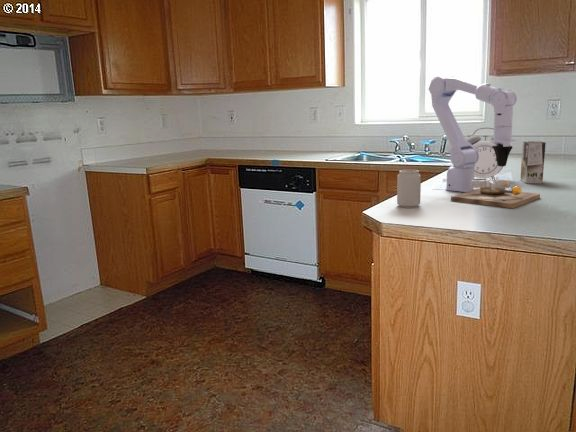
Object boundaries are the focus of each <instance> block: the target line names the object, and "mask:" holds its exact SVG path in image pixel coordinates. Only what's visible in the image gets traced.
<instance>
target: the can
mask: <svg viewBox="0 0 576 432" xmlns="http://www.w3.org/2000/svg"><path fill="white" fill-rule="evenodd" d="M419 172H420V170H417V169H400V170H399V173H398V174H397V176H396V177H397V179H396V180H397V181H396V182H397V183H396V185H397V189H396V194H397V195H396V205H398V206H399V207H400V208H403V209H413V208H418V207H419V206H420V205H421V191H422V190H421V186H422V185H421V180H422V179H421V177H422V174H420V173H419Z"/></svg>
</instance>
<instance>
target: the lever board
mask: <svg viewBox="0 0 576 432" xmlns="http://www.w3.org/2000/svg"><path fill="white" fill-rule="evenodd" d="M540 198H541V193H537V192H527V191H521V193H520V194H519V195H514V194H513V193H512V194H511V193H504V194H484V193H481V192H480V188H478V189H475V190H472V191H468V192H461V193H458V194H454V195H452V196H450V201H451V202H457V203H465V204H472V205H473V204H474V205H481V206H489V207H497V208H504V207H505V208H507V209H512V208H513V209H515V208H518V207H520V206H522V205H525V204H527V203H531V202H533V201H536V200H538V199H540Z"/></svg>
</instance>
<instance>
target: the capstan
mask: <svg viewBox="0 0 576 432" xmlns="http://www.w3.org/2000/svg"><path fill="white" fill-rule="evenodd" d="M471 187H472V188H480V192H481V193H484V194H504V193H511V194H512V193H513V194H514V195H519V194H520V193H521V192H522V188H521V187H520V186H518V185H516V186H513V187H512V188H511V189H509V188H510V179H506V180H505V179H496V180H493V179H492V178H491V177H489V178H485V179H484V180H483V179H481V180H479V179H477V180H476V179H474V180H472V183H471ZM507 188H508V189H509V190H508V189H507Z"/></svg>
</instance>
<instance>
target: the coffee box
mask: <svg viewBox="0 0 576 432" xmlns="http://www.w3.org/2000/svg"><path fill="white" fill-rule="evenodd" d="M546 143H547V142H544V141H541V140H533V141H532V140H531V141H530V140H529V141H522V144H521V145H522V147H521V164H520V166H521V167H520V181H521V182H523V183H525V184H543V179H544V166H545V157H546Z"/></svg>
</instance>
